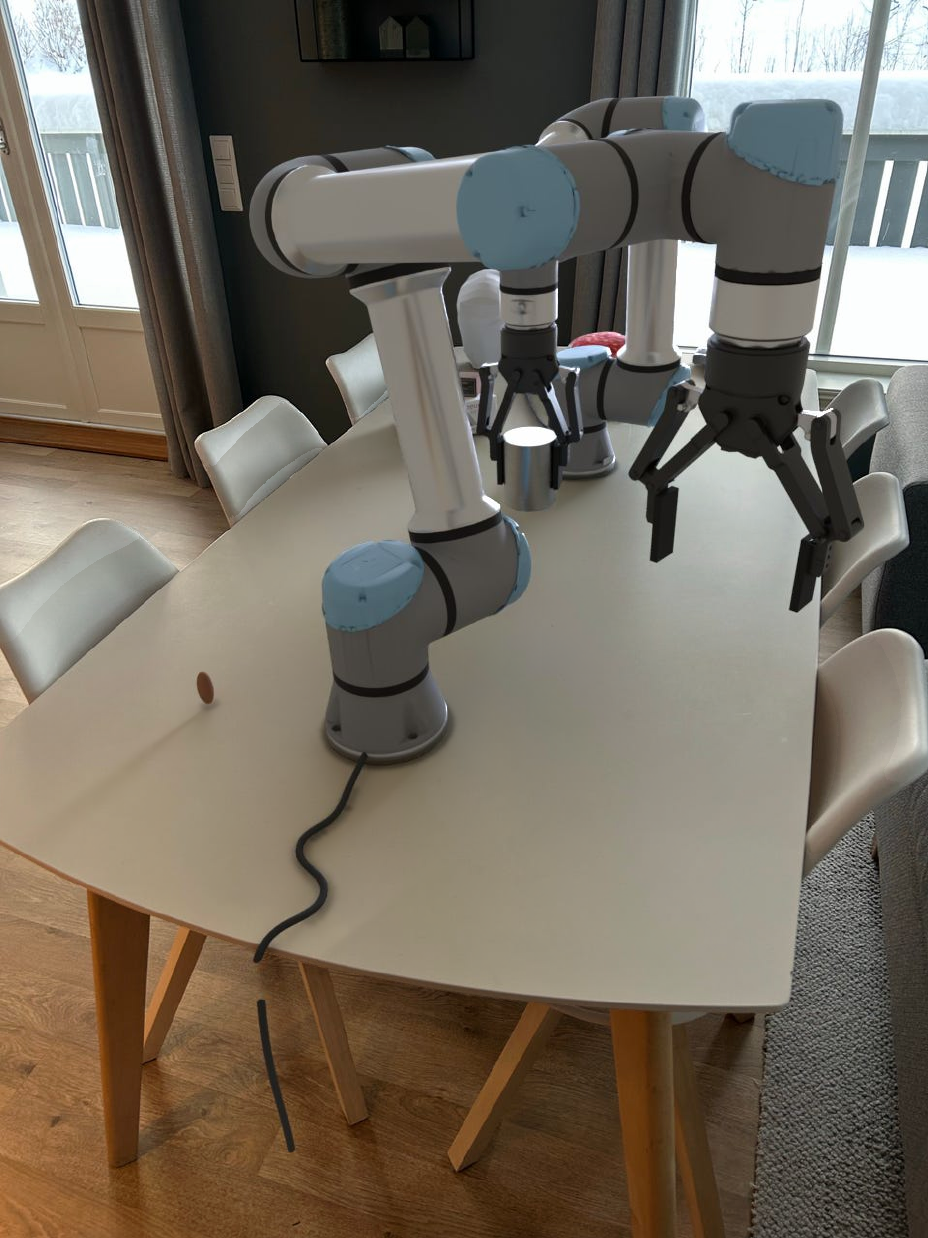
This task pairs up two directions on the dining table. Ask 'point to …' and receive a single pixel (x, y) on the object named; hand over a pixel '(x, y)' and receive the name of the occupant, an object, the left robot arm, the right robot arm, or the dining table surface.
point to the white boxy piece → (475, 398)
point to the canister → (528, 469)
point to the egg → (205, 687)
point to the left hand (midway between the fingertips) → (727, 580)
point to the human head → (480, 317)
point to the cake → (601, 341)
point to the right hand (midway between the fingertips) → (529, 483)
